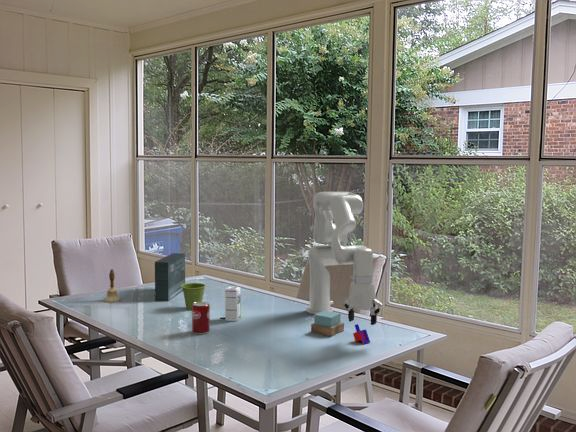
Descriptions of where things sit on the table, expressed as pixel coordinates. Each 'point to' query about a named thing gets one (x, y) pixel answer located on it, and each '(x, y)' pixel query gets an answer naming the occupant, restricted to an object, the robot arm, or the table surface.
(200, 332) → the soda can
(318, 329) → the tower base block
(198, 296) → the plant pot
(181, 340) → the table surface
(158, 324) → the table surface
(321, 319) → the tower top block
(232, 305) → the syrup box
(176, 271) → the dark green box
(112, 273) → the hand bell
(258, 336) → the table surface
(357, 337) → the dreidel
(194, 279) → the table surface
